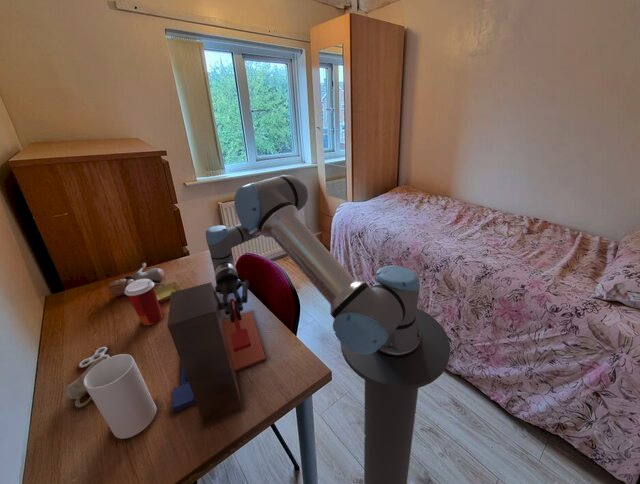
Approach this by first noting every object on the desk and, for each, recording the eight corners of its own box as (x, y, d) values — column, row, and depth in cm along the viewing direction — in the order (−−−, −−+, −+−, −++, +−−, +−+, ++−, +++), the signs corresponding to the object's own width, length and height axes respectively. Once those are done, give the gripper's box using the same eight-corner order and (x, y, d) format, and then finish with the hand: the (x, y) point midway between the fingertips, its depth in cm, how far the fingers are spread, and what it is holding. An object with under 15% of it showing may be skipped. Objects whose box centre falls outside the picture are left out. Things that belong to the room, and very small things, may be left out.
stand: (235, 372, 76) (211, 281, 64) (242, 408, 67) (215, 311, 55) (202, 385, 72) (170, 292, 60) (204, 425, 63) (167, 325, 51)
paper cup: (167, 309, 99) (155, 275, 94) (163, 323, 93) (149, 288, 87) (141, 315, 97) (127, 280, 91) (135, 330, 90) (119, 294, 85)
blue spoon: (176, 353, 82) (175, 349, 81) (193, 347, 84) (192, 343, 83) (174, 412, 66) (172, 408, 66) (195, 403, 68) (193, 399, 68)
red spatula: (224, 303, 91) (224, 299, 90) (239, 298, 93) (238, 295, 92) (234, 352, 77) (233, 349, 76) (251, 346, 79) (250, 343, 78)
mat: (251, 312, 97) (251, 311, 97) (265, 359, 79) (265, 357, 79) (213, 324, 92) (212, 323, 92) (219, 377, 74) (218, 376, 74)
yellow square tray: (151, 295, 107) (150, 290, 106) (176, 285, 113) (175, 280, 112) (158, 305, 101) (156, 300, 101) (184, 294, 107) (183, 289, 106)
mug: (66, 393, 71) (77, 353, 72) (115, 388, 77) (125, 351, 77) (58, 411, 65) (70, 367, 66) (112, 404, 71) (122, 364, 71)
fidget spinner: (77, 369, 77) (76, 367, 77) (90, 351, 83) (89, 349, 83) (107, 363, 79) (106, 361, 79) (117, 345, 85) (116, 343, 84)
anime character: (172, 274, 108) (115, 297, 96) (177, 288, 110) (122, 312, 98) (150, 254, 123) (98, 272, 111) (154, 267, 125) (104, 285, 113)
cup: (123, 406, 68) (96, 358, 61) (161, 398, 69) (140, 350, 63) (105, 443, 60) (73, 393, 54) (148, 432, 62) (123, 382, 56)
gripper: (249, 280, 107) (262, 319, 88) (207, 292, 101) (211, 336, 82) (245, 263, 104) (258, 299, 85) (202, 274, 98) (206, 315, 79)
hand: (235, 317), depth 84 cm, fingers closed on red spatula
